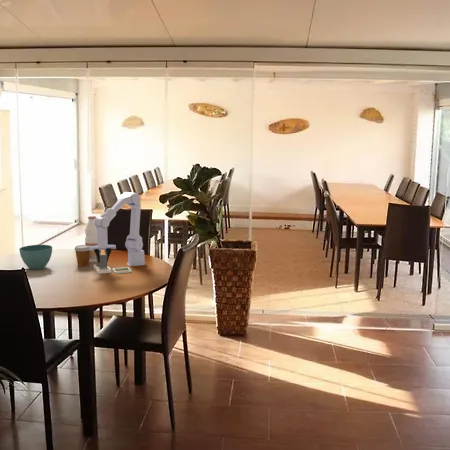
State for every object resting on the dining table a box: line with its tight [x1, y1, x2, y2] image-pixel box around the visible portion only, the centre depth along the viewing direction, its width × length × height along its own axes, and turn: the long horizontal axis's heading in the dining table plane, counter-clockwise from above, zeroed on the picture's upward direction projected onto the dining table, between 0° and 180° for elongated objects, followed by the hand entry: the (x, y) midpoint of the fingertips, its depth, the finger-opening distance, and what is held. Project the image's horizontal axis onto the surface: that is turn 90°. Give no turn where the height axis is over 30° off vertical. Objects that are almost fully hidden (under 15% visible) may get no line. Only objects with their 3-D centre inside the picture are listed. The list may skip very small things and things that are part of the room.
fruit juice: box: [84, 215, 102, 263], centre depth 348 cm, size 9×9×28 cm
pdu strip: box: [92, 263, 112, 275], centre depth 325 cm, size 7×16×2 cm, turn 23°
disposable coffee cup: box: [74, 244, 90, 268], centre depth 336 cm, size 10×10×12 cm
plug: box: [99, 253, 108, 268], centre depth 320 cm, size 4×4×7 cm
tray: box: [111, 266, 133, 275], centre depth 323 cm, size 9×9×2 cm
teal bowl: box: [19, 244, 53, 270], centre depth 330 cm, size 18×18×12 cm
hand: (103, 261), depth 321 cm, fingers closed on plug, 4 cm apart
